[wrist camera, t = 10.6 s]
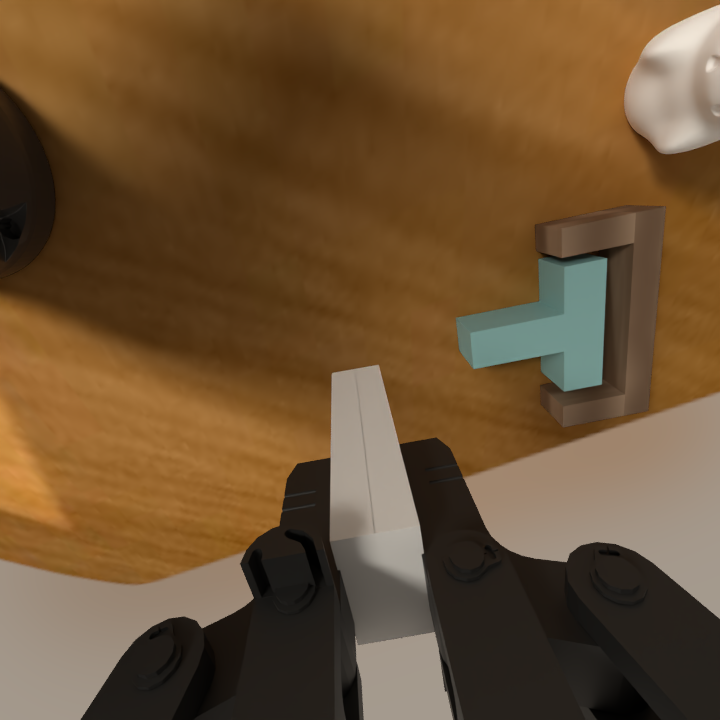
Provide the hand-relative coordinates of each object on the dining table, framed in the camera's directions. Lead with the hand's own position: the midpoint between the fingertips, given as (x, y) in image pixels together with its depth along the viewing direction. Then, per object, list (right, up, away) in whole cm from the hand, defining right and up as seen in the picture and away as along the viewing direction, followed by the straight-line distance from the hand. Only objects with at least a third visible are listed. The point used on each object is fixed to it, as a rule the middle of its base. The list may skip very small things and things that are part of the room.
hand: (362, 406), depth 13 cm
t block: (+13, +5, +21) cm, 25 cm away
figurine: (+21, +20, +15) cm, 33 cm away
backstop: (+18, +5, +21) cm, 28 cm away
